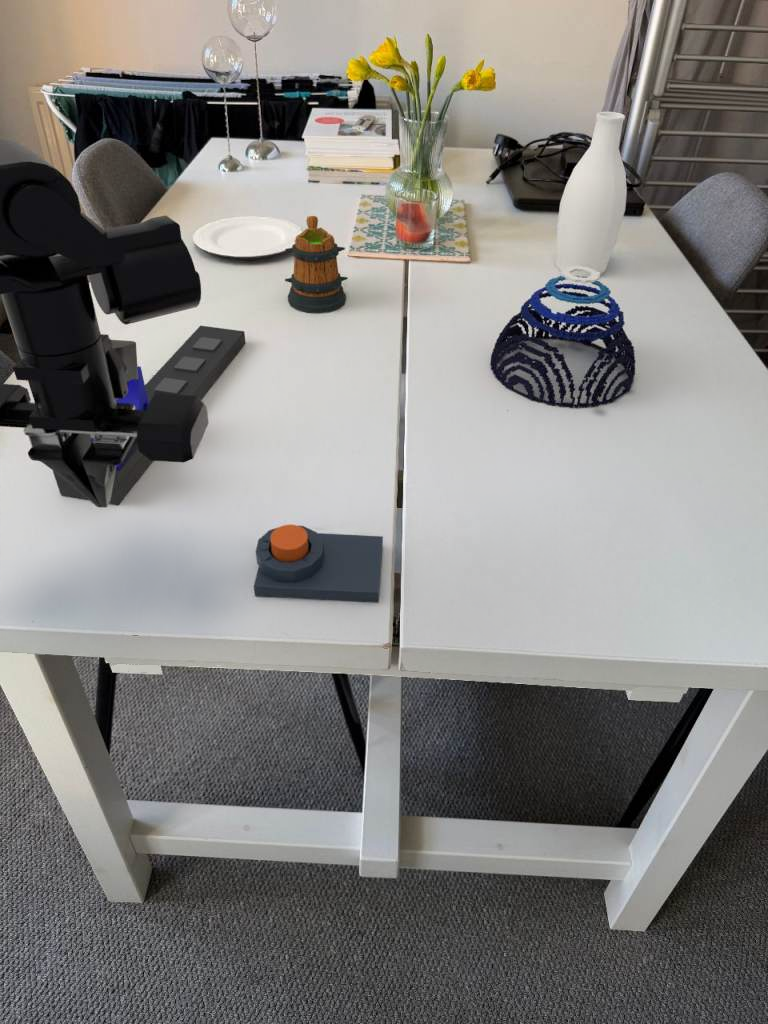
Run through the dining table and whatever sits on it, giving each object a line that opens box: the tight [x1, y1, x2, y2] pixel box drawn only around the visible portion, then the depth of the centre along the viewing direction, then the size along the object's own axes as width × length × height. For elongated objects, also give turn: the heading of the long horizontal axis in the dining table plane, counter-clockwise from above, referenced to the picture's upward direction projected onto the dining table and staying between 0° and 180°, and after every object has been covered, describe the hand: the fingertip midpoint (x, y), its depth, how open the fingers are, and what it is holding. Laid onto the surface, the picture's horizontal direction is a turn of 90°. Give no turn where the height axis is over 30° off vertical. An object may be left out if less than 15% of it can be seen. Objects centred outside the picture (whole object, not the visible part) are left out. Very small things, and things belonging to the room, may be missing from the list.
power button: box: [270, 524, 308, 562], centre depth 71 cm, size 4×4×2 cm
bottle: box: [554, 111, 628, 277], centre depth 126 cm, size 11×11×25 cm
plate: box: [192, 215, 304, 260], centre depth 139 cm, size 21×21×2 cm
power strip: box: [52, 325, 246, 506], centre depth 94 cm, size 39×7×3 cm, turn 167°
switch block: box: [253, 525, 384, 603], centre depth 73 cm, size 12×8×3 cm, turn 87°
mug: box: [284, 215, 348, 314], centre depth 119 cm, size 13×10×12 cm
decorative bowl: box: [489, 265, 637, 409], centre depth 101 cm, size 20×20×14 cm
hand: (104, 504), depth 63 cm, fingers closed
